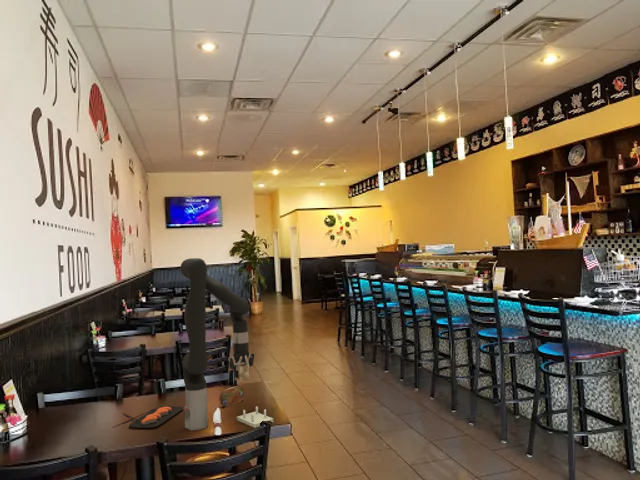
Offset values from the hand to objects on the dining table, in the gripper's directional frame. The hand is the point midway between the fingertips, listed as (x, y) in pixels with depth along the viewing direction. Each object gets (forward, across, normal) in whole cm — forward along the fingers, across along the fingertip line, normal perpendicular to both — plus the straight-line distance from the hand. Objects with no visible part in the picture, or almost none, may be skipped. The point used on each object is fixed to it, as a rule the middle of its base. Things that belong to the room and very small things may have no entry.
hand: (241, 376), depth 241 cm
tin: (+18, +3, +16) cm, 24 cm away
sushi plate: (+18, -38, +30) cm, 51 cm away
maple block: (+1, 0, 0) cm, 1 cm away
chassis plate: (+17, -3, -14) cm, 23 cm away
